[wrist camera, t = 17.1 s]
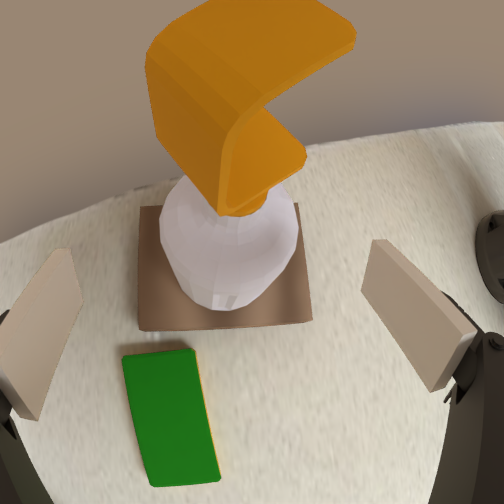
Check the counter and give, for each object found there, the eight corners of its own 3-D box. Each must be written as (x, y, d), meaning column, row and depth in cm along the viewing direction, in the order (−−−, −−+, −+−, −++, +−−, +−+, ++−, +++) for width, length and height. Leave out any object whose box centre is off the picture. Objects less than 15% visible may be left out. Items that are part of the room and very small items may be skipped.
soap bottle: (289, 271, 30) (472, 76, 7) (213, 331, 27) (235, 231, 4) (232, 201, 31) (282, -50, 8) (155, 253, 29) (54, 7, 6)
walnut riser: (290, 214, 35) (297, 202, 32) (303, 322, 32) (312, 320, 29) (145, 218, 33) (140, 206, 30) (145, 331, 29) (138, 329, 26)
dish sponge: (195, 347, 30) (194, 347, 28) (220, 472, 26) (222, 481, 24) (126, 355, 29) (120, 356, 26) (154, 479, 25) (150, 487, 23)
